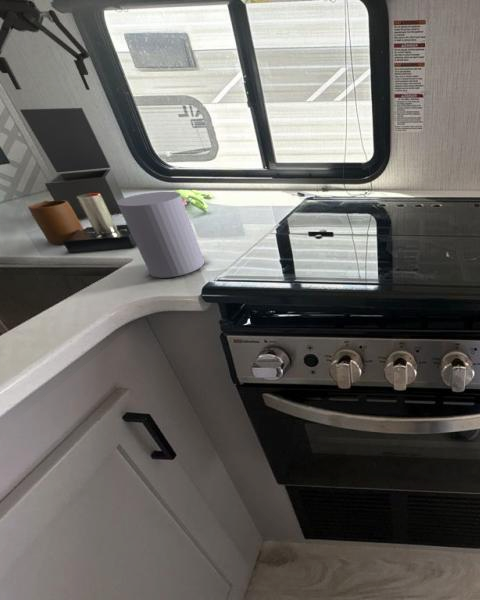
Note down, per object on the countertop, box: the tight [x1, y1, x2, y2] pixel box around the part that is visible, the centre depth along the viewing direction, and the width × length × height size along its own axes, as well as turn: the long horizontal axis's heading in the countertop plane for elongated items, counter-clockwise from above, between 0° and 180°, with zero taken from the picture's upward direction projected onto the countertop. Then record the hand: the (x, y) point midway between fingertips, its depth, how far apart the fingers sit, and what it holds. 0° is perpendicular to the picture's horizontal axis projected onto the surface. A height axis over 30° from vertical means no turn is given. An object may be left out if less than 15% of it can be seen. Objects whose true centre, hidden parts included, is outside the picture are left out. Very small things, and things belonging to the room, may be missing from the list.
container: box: [117, 191, 205, 279], centre depth 68 cm, size 10×10×15 cm
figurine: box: [172, 189, 213, 214], centre depth 109 cm, size 18×27×6 cm
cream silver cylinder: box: [77, 193, 118, 235], centre depth 80 cm, size 4×4×9 cm
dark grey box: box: [44, 168, 125, 220], centre depth 107 cm, size 17×14×11 cm
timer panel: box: [62, 224, 137, 254], centre depth 84 cm, size 14×10×3 cm
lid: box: [19, 107, 111, 173], centre depth 104 cm, size 18×14×1 cm
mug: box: [28, 200, 84, 245], centre depth 86 cm, size 12×8×9 cm, turn 49°
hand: (55, 89), depth 86 cm, fingers open, 13 cm apart
